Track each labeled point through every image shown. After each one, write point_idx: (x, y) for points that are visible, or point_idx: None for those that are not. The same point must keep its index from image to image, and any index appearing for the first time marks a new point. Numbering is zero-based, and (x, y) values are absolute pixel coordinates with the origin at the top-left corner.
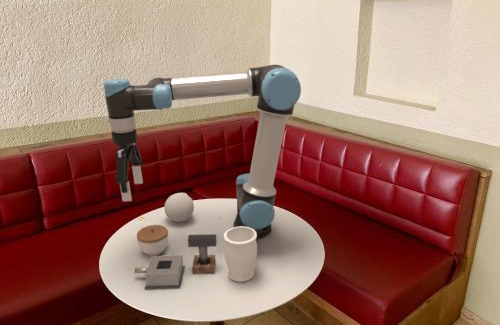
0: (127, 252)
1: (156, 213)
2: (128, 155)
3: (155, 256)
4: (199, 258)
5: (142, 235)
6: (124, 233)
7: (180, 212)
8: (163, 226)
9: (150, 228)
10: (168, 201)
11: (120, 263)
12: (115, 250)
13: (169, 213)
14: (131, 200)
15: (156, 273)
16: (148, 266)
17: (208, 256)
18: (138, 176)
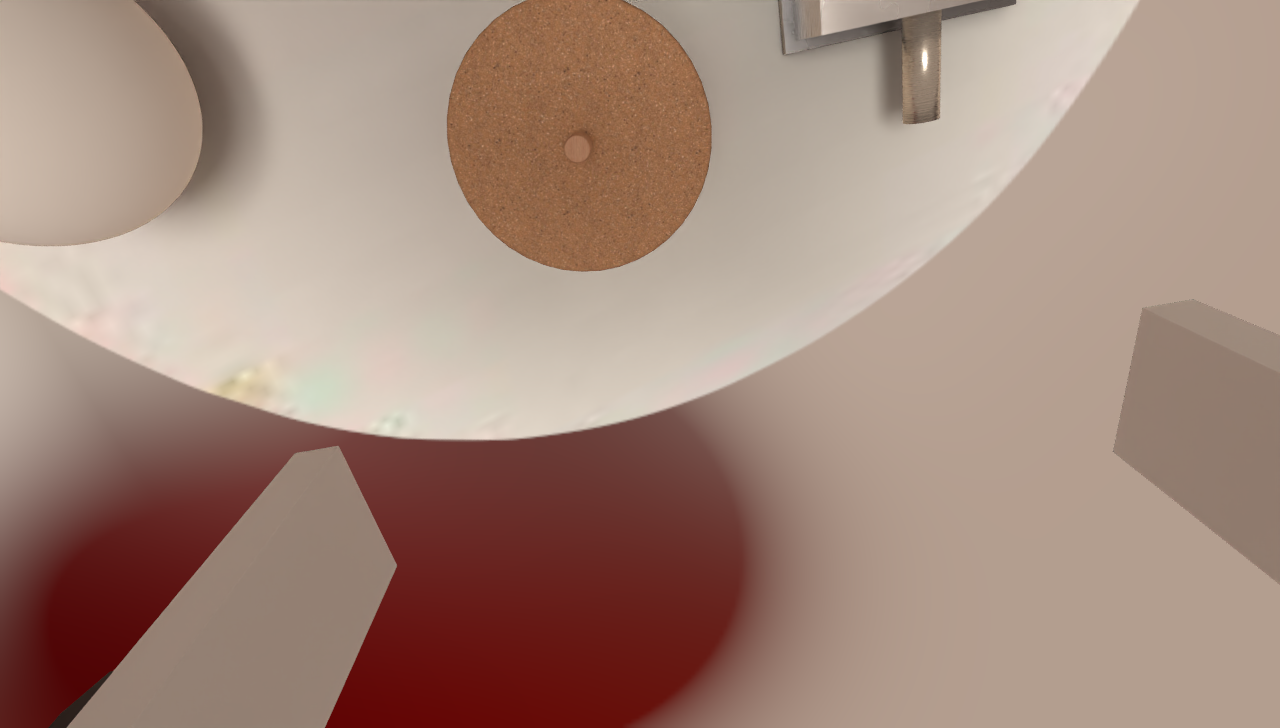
0: (636, 299)
1: (130, 326)
2: None
3: (826, 1)
4: None
5: (647, 205)
6: (445, 410)
7: (118, 27)
8: (461, 78)
9: (582, 160)
10: (44, 192)
11: (749, 286)
12: (627, 375)
13: (175, 151)
14: (1166, 304)
15: None
16: (959, 2)
17: None
18: (282, 624)
